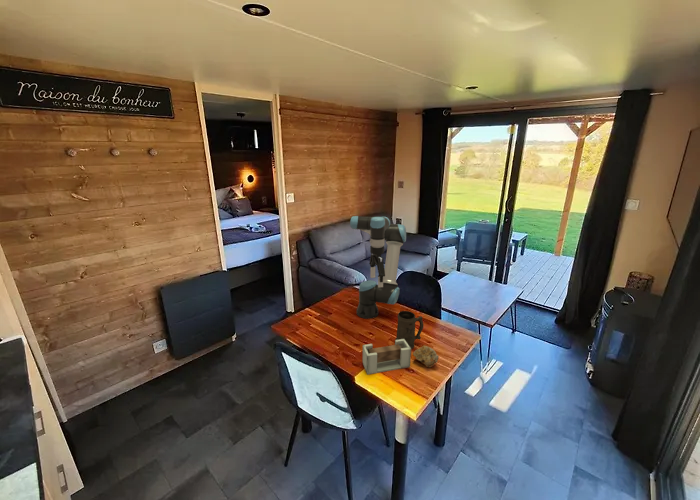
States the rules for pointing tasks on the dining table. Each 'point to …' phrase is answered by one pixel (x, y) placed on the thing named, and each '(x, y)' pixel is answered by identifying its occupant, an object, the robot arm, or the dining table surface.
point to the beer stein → (408, 327)
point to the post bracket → (374, 367)
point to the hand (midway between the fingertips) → (376, 282)
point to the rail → (387, 352)
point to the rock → (426, 355)
